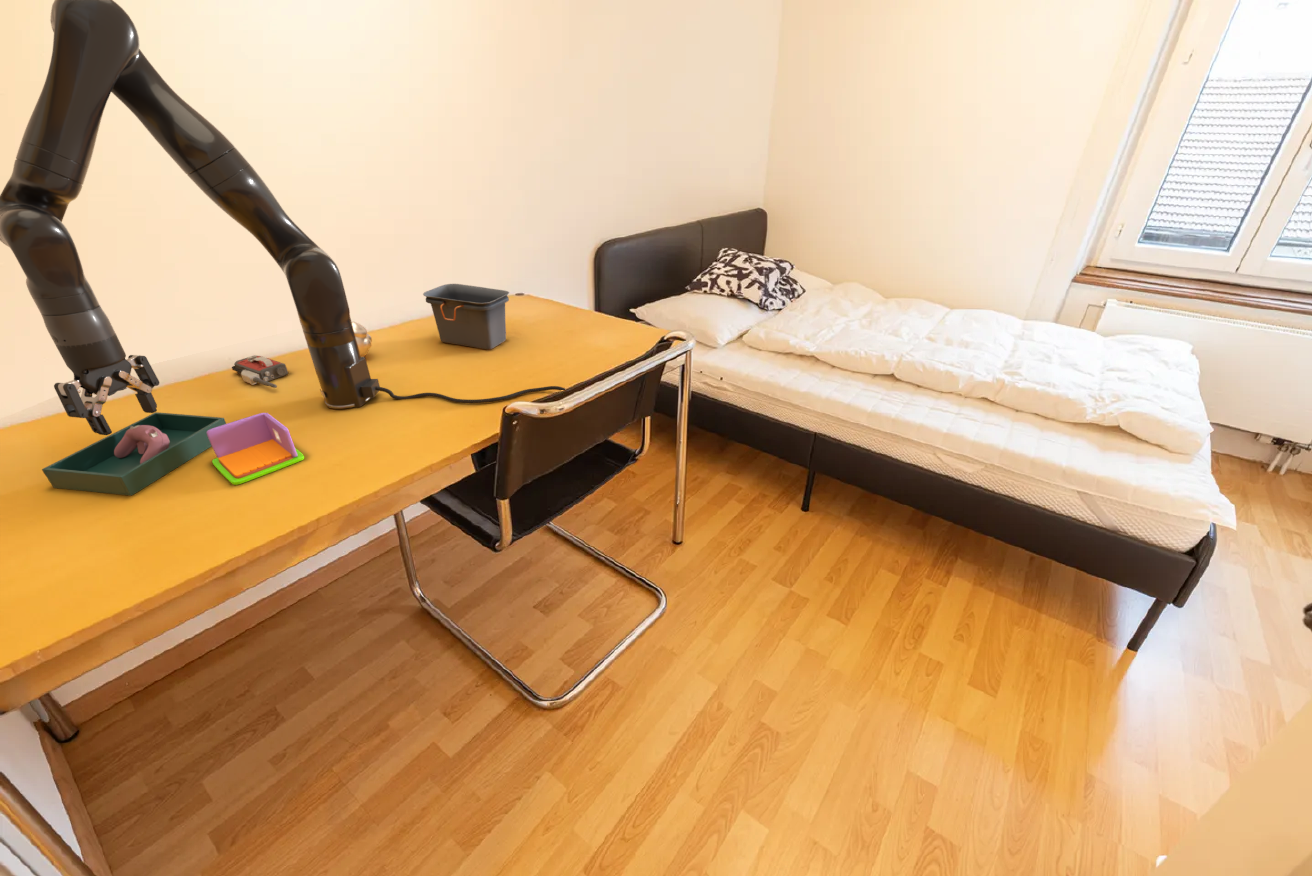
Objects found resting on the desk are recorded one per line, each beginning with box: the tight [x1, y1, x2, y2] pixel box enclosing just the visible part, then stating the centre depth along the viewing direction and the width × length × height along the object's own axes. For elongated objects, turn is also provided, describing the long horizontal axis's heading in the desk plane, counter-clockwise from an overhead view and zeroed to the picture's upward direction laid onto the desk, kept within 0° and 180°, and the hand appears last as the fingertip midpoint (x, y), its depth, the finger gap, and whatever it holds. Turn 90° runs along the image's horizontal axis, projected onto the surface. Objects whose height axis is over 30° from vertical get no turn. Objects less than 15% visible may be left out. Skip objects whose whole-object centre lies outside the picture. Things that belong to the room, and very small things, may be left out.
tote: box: [41, 411, 227, 497], centre depth 103 cm, size 15×21×4 cm
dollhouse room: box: [207, 412, 305, 486], centre depth 102 cm, size 12×12×7 cm
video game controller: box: [114, 425, 170, 464], centre depth 103 cm, size 10×5×7 cm, turn 65°
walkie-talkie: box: [231, 354, 289, 389], centre depth 135 cm, size 9×4×20 cm
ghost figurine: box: [351, 321, 373, 357], centre depth 145 cm, size 9×10×10 cm
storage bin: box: [422, 283, 510, 351], centre depth 155 cm, size 21×16×14 cm
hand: (129, 422), depth 100 cm, fingers open, 8 cm apart
